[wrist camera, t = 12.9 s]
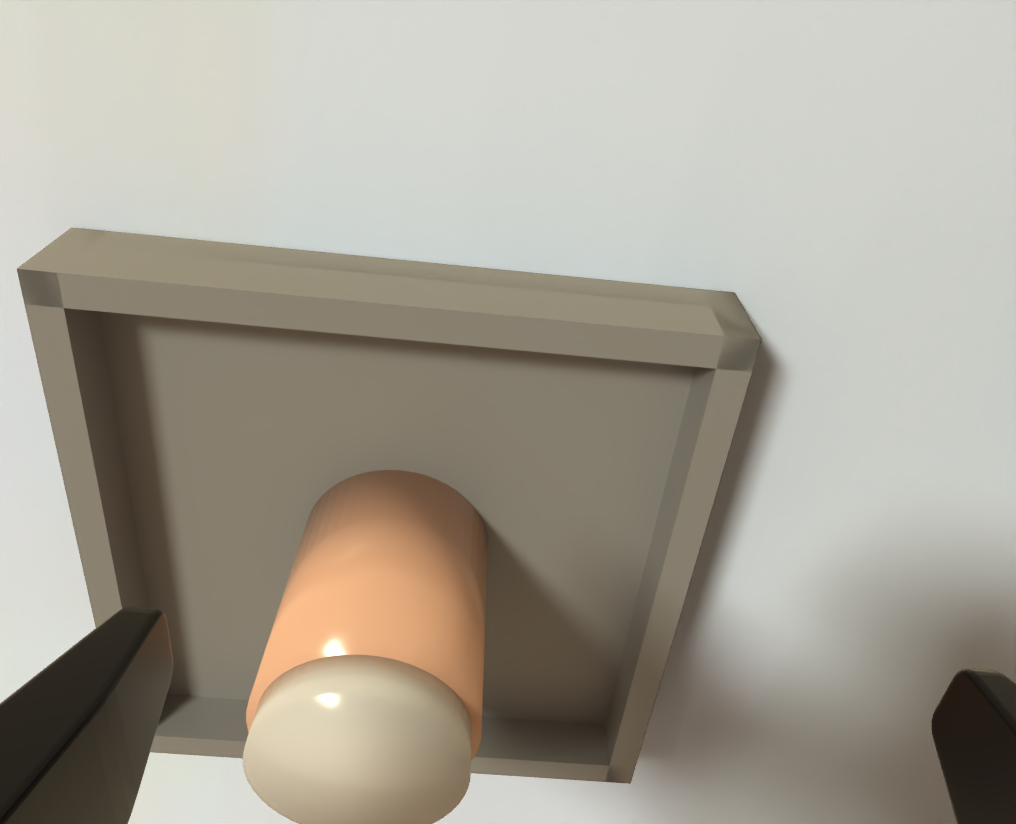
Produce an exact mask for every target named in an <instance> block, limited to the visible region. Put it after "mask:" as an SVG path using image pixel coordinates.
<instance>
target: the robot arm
mask: <svg viewBox="0 0 1016 824" xmlns="http://www.w3.org/2000/svg"><path fill="white" fill-rule="evenodd" d="M172 671H173V657H172V651H171V644H170V638H169V631H168V625H167V619H166V616H165V614H164V612H163V611H162V610H160V609H158V608H146V607H131V606H130V607H125V608H123V609H120V610H119V611H117V612H116V613H115V614H113V615H112V616H111V617H110V618H108V619H107V620H106V621H105V622H103V623H102V624H101V625H99V626H98V627H97V628H96V629H94V630H93V631H92V632H91V633H89V634H88V635H87V636H85V637H84V638H83V639H82V640H80V641H79V642H78V643H77V644H75V645H74V646H73V647H71V648H70V649H69V650H68V651H66V652H65V653H64V654H63V655H61V656H60V657H59V658H58V659H56V660H55V661H54V662H52V663H51V664H50V665H49V666H47V667H46V668H45V669H44V670H42V671H41V672H40V673H38V674H37V675H36V676H35V677H33V678H32V679H31V680H30V681H28V682H27V683H26V684H24V685H23V686H22V687H21V688H19V689H18V690H17V691H16V692H14V693H13V694H12V695H11V696H9V697H8V698H7V699H5V700H4V701H3V702H2V703H0V824H128V821H129V819H130V816H131V813H132V810H133V806H134V803H135V800H136V797H137V794H138V790H139V787H140V784H141V780H142V777H143V773H144V770H145V767H146V763H147V760H148V757H149V753H150V750H151V746H152V743H153V740H154V736H155V733H156V729H157V726H158V723H159V719H160V716H161V712H162V709H163V706H164V702H165V699H166V695H167V692H168V689H169V685H170V682H171V677H172ZM932 734H933V739H934V742H935V746H936V750H937V753H938V757H939V760H940V764H941V768H942V771H943V775H944V778H945V782H946V786H947V789H948V793H949V797H950V800H951V804H952V807H953V811H954V815H955V818H956V822H957V824H1016V684H1015V683H1014V682H1012V681H1011V680H1010V679H1009V678H1007V677H1006V676H1005V675H1003V674H1001V673H999V672H996V671H992V670H980V669H962V670H961V671H959V672H958V673H957V674H956V675H955V676H954V678H953V680H952V681H951V683H950V685H949V687H948V688H947V690H946V692H945V694H944V695H943V697H942V699H941V701H940V703H939V704H938V706H937V708H936V710H935V712H934V714H933V718H932Z"/></svg>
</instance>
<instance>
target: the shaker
mask: <svg viewBox="0 0 1016 824" xmlns="http://www.w3.org/2000/svg"><path fill="white" fill-rule="evenodd" d="M487 552H488V540H487V533H486V529H485V526H484V523H483V521H482V519H481V517H480V515H479V514H478V512H477V511H476V509H475V508H474V506H473V505H472V504H471V503H470V502H469V501H468V500H467V499H466V498H465V497H464V496H463V495H462V494H460V493H459V492H458V491H457V490H455V489H453V488H452V487H450V486H449V485H447V484H445V483H443V482H441V481H439V480H437V479H435V478H432V477H429V476H426V475H423V474H419V473H415V472H409V471H402V470H380V471H372V472H366V473H362V474H359V475H355V476H352V477H350V478H348V479H345V480H343V481H341V482H339V483H338V484H336V485H335V486H333V487H331V488H330V489H329V490H328V491H327V492H325V493H324V494H323V495H322V496H321V497H320V499H319V500H318V501H317V502H316V504H315V505H314V507H313V508H312V510H311V512H310V515H309V517H308V520H307V523H306V526H305V529H304V532H303V535H302V538H301V541H300V544H299V548H298V551H297V554H296V557H295V560H294V563H293V566H292V569H291V572H290V575H289V578H288V581H287V584H286V587H285V591H284V594H283V597H282V600H281V603H280V606H279V609H278V612H277V615H276V618H275V621H274V624H273V627H272V631H271V634H270V637H269V640H268V643H267V646H266V649H265V652H264V655H263V658H262V661H261V664H260V667H259V670H258V674H257V677H256V680H255V683H254V686H253V689H252V692H251V695H250V698H249V701H248V706H247V710H246V723H247V728H248V732H249V734H248V737H247V740H246V744H245V747H244V752H243V767H244V772H245V775H246V778H247V780H248V782H249V784H250V785H251V787H252V789H253V790H254V792H255V793H256V794H257V795H258V796H259V797H260V798H261V800H263V801H264V802H265V803H266V804H267V805H268V806H269V807H271V808H272V809H273V810H275V811H276V812H278V813H279V814H281V815H283V816H284V817H286V818H288V819H290V820H292V821H294V822H296V823H299V824H433V823H434V822H436V821H438V820H440V819H441V818H443V817H444V816H446V815H447V814H448V813H450V812H451V811H452V810H453V809H454V808H455V807H456V806H457V805H458V804H459V803H460V801H461V800H462V799H463V797H464V795H465V793H466V791H467V789H468V786H469V782H470V772H471V761H472V760H473V758H474V757H475V755H476V753H477V750H478V748H479V745H480V741H481V732H482V702H483V672H484V642H485V612H486V582H487Z"/></svg>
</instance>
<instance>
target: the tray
mask: <svg viewBox="0 0 1016 824" xmlns="http://www.w3.org/2000/svg"><path fill="white" fill-rule="evenodd" d="M17 272H18V276H19V281H20V285H21V290H22V295H23V299H24V304H25V308H26V313H27V317H28V322H29V326H30V331H31V335H32V340H33V344H34V349H35V353H36V358H37V363H38V367H39V372H40V376H41V381H42V385H43V390H44V394H45V399H46V403H47V408H48V412H49V417H50V422H51V426H52V431H53V435H54V440H55V444H56V449H57V453H58V458H59V462H60V467H61V471H62V476H63V481H64V485H65V490H66V494H67V499H68V503H69V508H70V512H71V517H72V521H73V526H74V530H75V535H76V539H77V544H78V549H79V553H80V558H81V562H82V567H83V571H84V576H85V580H86V585H87V589H88V594H89V598H90V603H91V608H92V612H93V617H94V621H95V626H96V628H97V627H98V626H99V625H101V624H102V623H103V622H105V621H106V620H107V619H108V618H110V617H111V616H112V615H113V614H115V613H116V612H117V611H119V610H120V609H123V608H125V607H130V606H131V607H146V608H158V609H160V610H162V611H163V612H164V614H165V616H166V619H167V625H168V631H169V638H170V644H171V651H172V657H173V671H172V677H171V682H170V685H169V689H168V692H167V695H166V699H165V702H164V706H163V709H162V712H161V716H160V719H159V723H158V726H157V729H156V733H155V736H154V740H153V743H152V746H151V750H150V752H155V753H171V754H186V755H201V756H217V757H232V758H243V752H244V747H245V744H246V740H247V737H248V734H249V732H248V728H247V723H246V710H247V706H248V701H249V698H250V695H251V692H252V689H253V686H254V683H255V680H256V677H257V674H258V670H259V667H260V664H261V661H262V658H263V655H264V652H265V649H266V646H267V643H268V640H269V637H270V634H271V631H272V627H273V624H274V621H275V618H276V615H277V612H278V609H279V606H280V603H281V600H282V597H283V594H284V591H285V587H286V584H287V581H288V578H289V575H290V572H291V569H292V566H293V563H294V560H295V557H296V554H297V551H298V548H299V544H300V541H301V538H302V535H303V532H304V529H305V526H306V523H307V520H308V517H309V515H310V512H311V510H312V508H313V507H314V505H315V504H316V502H317V501H318V500H319V499H320V497H321V496H322V495H323V494H324V493H325V492H327V491H328V490H329V489H330V488H331V487H333V486H335V485H336V484H338V483H339V482H341V481H343V480H345V479H348V478H350V477H352V476H355V475H359V474H362V473H366V472H372V471H380V470H402V471H409V472H415V473H419V474H423V475H426V476H429V477H432V478H435V479H437V480H439V481H441V482H443V483H445V484H447V485H449V486H450V487H452V488H453V489H455V490H457V491H458V492H459V493H460V494H462V495H463V496H464V497H465V498H466V499H467V500H468V501H469V502H470V503H471V504H472V505H473V506H474V508H475V509H476V511H477V512H478V514H479V515H480V517H481V519H482V521H483V523H484V526H485V529H486V533H487V540H488V552H487V582H486V612H485V642H484V672H483V702H482V732H481V741H480V745H479V748H478V750H477V753H476V755H475V757H474V758H473V760H472V761H471V772H470V773H478V774H493V775H509V776H524V777H539V778H555V779H570V780H585V781H601V782H616V783H631V780H632V777H633V773H634V770H635V766H636V763H637V760H638V756H639V753H640V750H641V746H642V743H643V739H644V736H645V733H646V729H647V726H648V722H649V719H650V716H651V712H652V709H653V706H654V702H655V699H656V695H657V692H658V689H659V685H660V682H661V678H662V675H663V672H664V668H665V665H666V662H667V658H668V655H669V651H670V648H671V645H672V641H673V638H674V634H675V631H676V628H677V624H678V621H679V618H680V614H681V611H682V607H683V604H684V601H685V597H686V594H687V590H688V587H689V584H690V580H691V577H692V574H693V570H694V567H695V563H696V560H697V557H698V553H699V550H700V546H701V543H702V540H703V536H704V533H705V530H706V526H707V523H708V519H709V516H710V513H711V509H712V506H713V502H714V499H715V496H716V492H717V489H718V486H719V482H720V479H721V475H722V472H723V469H724V465H725V462H726V458H727V455H728V452H729V448H730V445H731V442H732V438H733V435H734V431H735V428H736V425H737V421H738V418H739V414H740V411H741V408H742V404H743V401H744V398H745V394H746V391H747V387H748V384H749V381H750V377H751V374H752V370H753V367H754V364H755V360H756V357H757V354H758V350H759V347H760V343H761V340H762V339H761V338H760V336H759V334H758V332H757V331H756V329H755V327H754V325H753V324H752V322H751V320H750V319H749V317H748V315H747V313H746V312H745V310H744V308H743V306H742V305H741V303H740V301H739V299H738V298H737V296H736V294H735V293H733V292H722V291H712V290H702V289H692V288H682V287H671V286H661V285H651V284H641V283H631V282H620V281H610V280H600V279H590V278H580V277H569V276H559V275H549V274H539V273H529V272H518V271H508V270H498V269H488V268H478V267H467V266H457V265H447V264H437V263H427V262H416V261H406V260H396V259H386V258H376V257H366V256H355V255H345V254H335V253H325V252H315V251H304V250H294V249H284V248H274V247H264V246H253V245H243V244H233V243H223V242H213V241H202V240H192V239H182V238H172V237H162V236H151V235H141V234H131V233H121V232H111V231H100V230H90V229H80V228H70V229H69V230H68V231H66V232H65V233H64V234H62V235H61V236H60V237H58V238H57V239H56V240H54V241H53V242H52V243H50V244H49V245H48V246H46V247H45V248H44V249H42V250H41V251H40V252H38V253H37V254H36V255H34V256H33V257H32V258H30V259H29V260H28V261H26V262H25V263H24V264H22V265H21V266H20V267H18V268H17Z"/></svg>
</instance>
